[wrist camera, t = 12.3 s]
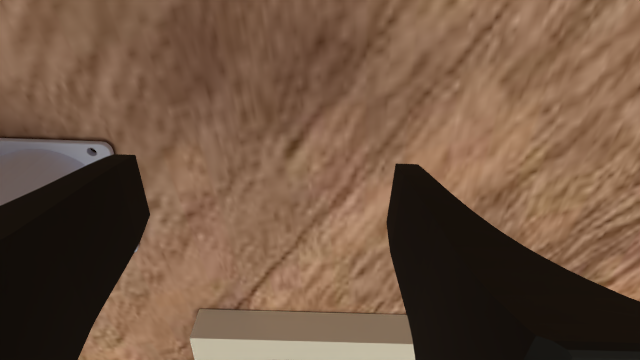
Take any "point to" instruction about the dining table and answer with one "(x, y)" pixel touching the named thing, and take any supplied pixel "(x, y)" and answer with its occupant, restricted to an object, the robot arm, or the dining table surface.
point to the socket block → (300, 336)
